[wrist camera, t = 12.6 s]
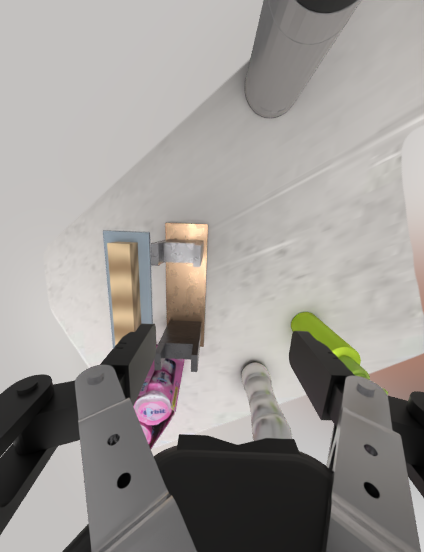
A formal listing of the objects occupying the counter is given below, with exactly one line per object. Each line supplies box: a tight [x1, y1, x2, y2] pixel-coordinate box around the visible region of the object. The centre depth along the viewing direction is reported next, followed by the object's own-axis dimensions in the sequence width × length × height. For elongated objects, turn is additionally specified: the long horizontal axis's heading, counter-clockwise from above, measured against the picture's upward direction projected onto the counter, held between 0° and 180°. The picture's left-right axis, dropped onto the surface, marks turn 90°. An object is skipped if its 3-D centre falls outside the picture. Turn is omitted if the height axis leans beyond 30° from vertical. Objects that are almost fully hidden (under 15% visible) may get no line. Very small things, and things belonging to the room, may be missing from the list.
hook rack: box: [151, 223, 208, 372], centre depth 35 cm, size 26×8×13 cm, turn 178°
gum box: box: [133, 345, 184, 449], centre depth 41 cm, size 24×8×14 cm, turn 150°
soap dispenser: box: [291, 312, 388, 395], centre depth 34 cm, size 6×7×20 cm
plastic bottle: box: [242, 363, 292, 441], centre depth 37 cm, size 6×7×20 cm
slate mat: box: [103, 231, 153, 348], centre depth 42 cm, size 26×9×1 cm, turn 178°
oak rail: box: [107, 242, 141, 346], centre depth 40 cm, size 22×4×4 cm, turn 178°
